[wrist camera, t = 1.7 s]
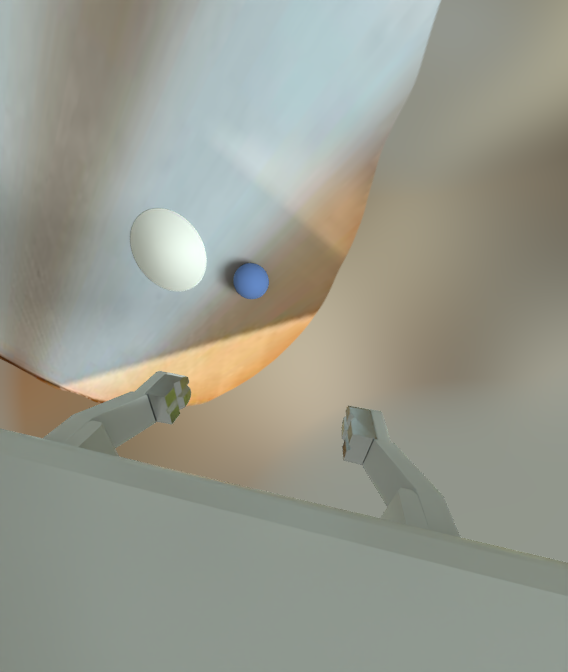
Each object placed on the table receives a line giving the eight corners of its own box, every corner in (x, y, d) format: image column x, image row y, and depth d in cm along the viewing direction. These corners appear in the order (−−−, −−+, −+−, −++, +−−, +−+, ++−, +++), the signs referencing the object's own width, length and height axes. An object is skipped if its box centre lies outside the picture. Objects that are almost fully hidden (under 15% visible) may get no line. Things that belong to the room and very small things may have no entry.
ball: (237, 288, 38) (226, 298, 33) (242, 256, 35) (230, 262, 30) (267, 297, 38) (261, 308, 33) (274, 265, 35) (268, 272, 31)
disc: (134, 280, 39) (133, 280, 39) (127, 197, 33) (126, 197, 33) (204, 299, 40) (203, 299, 39) (209, 221, 33) (209, 221, 33)
